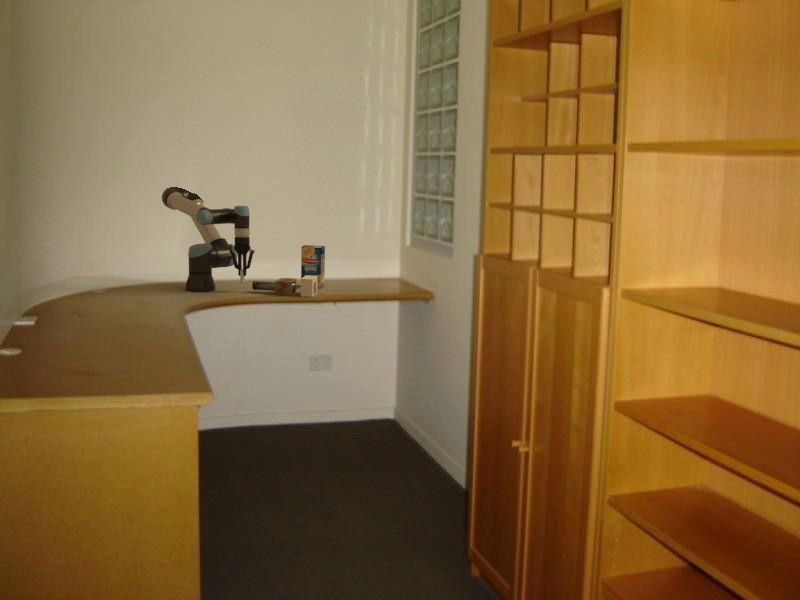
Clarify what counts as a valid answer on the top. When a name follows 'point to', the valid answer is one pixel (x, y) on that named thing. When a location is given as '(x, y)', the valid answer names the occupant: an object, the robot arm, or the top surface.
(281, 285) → the sleeve
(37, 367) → the top surface
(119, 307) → the top surface
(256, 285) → the tube
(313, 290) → the socket
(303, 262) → the beverage box
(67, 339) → the top surface
